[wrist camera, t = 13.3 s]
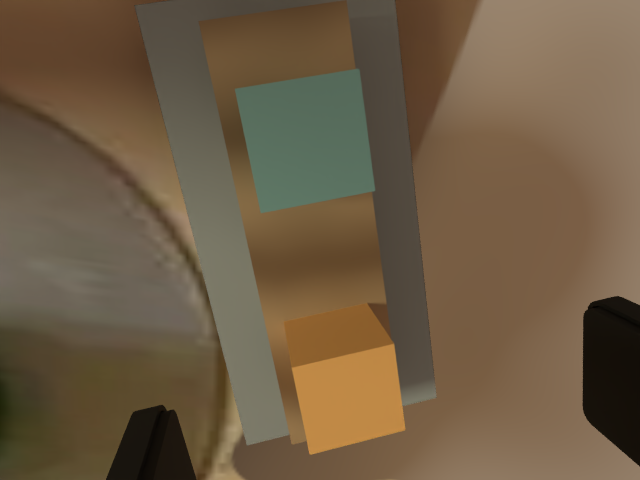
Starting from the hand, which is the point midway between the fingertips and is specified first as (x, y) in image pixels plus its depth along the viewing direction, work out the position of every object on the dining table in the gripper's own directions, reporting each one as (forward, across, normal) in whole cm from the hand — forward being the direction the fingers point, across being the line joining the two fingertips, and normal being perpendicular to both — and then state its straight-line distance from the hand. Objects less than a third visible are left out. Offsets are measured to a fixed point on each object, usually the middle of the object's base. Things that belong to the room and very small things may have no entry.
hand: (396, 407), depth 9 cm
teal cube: (+13, 0, -5) cm, 14 cm away
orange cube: (+13, 0, +6) cm, 14 cm away
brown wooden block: (+16, 0, 0) cm, 16 cm away
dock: (+20, 0, 0) cm, 20 cm away
